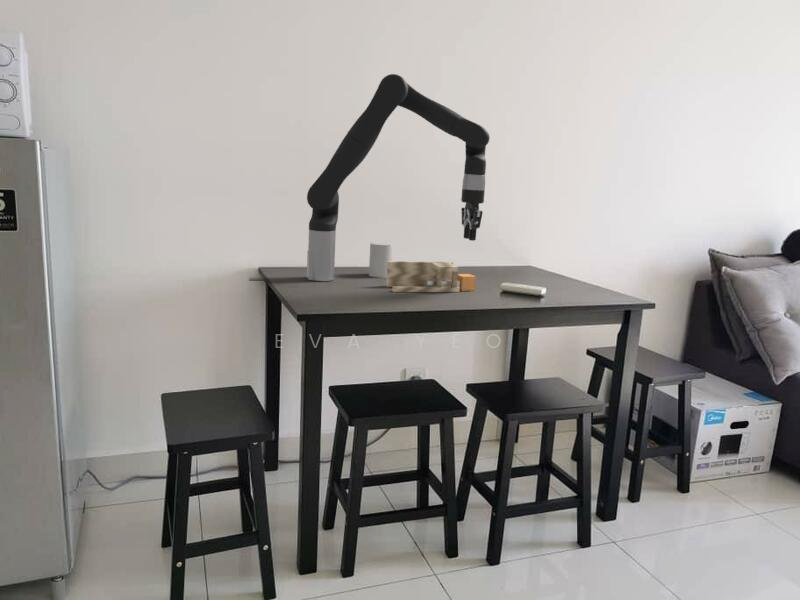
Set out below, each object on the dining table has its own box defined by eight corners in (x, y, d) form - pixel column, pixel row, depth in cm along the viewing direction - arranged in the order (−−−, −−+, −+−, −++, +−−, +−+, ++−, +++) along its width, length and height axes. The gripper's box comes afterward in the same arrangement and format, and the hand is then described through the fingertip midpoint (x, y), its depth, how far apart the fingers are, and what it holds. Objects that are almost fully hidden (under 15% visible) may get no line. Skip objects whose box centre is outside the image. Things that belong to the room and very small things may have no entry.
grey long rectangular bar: (426, 291, 211) (427, 281, 210) (423, 289, 214) (424, 279, 213) (459, 291, 214) (460, 281, 214) (456, 289, 217) (456, 279, 216)
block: (461, 291, 213) (462, 276, 212) (455, 288, 218) (456, 274, 217) (474, 290, 215) (475, 276, 214) (467, 288, 220) (469, 273, 219)
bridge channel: (393, 291, 205) (394, 266, 204) (386, 285, 215) (387, 261, 213) (459, 291, 211) (461, 267, 210) (449, 286, 221) (451, 262, 219)
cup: (391, 274, 237) (393, 242, 234) (389, 278, 229) (391, 245, 226) (370, 272, 238) (372, 241, 235) (367, 276, 230) (368, 244, 227)
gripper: (492, 190, 204) (487, 242, 208) (476, 187, 217) (472, 237, 221) (470, 189, 202) (466, 242, 206) (455, 186, 216) (452, 236, 219)
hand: (469, 239), depth 213 cm, fingers open, 4 cm apart
